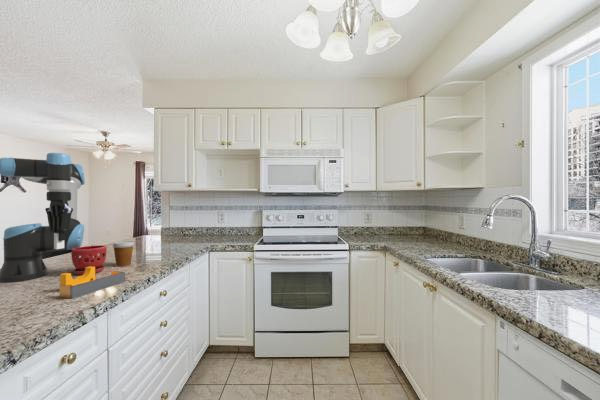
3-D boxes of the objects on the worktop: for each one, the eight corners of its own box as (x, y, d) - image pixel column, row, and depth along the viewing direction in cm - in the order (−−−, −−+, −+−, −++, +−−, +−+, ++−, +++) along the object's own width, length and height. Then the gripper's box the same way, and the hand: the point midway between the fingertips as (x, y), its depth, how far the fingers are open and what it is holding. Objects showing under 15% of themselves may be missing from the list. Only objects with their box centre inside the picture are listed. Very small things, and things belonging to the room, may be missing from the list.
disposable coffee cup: (107, 267, 138) (107, 243, 137) (123, 262, 147) (123, 240, 147) (124, 267, 136) (124, 244, 136) (138, 263, 145) (138, 241, 145)
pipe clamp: (86, 281, 114) (86, 266, 114) (95, 282, 114) (95, 266, 113) (56, 291, 102) (56, 274, 102) (65, 291, 102) (65, 274, 102)
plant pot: (113, 269, 133) (113, 245, 132) (85, 277, 120) (85, 250, 120) (93, 267, 136) (93, 243, 136) (64, 274, 124) (64, 248, 123)
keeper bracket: (59, 296, 96) (59, 285, 96) (113, 280, 115) (113, 270, 115) (72, 298, 94) (72, 287, 94) (125, 281, 113) (125, 272, 113)
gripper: (37, 191, 109) (37, 249, 109) (59, 190, 105) (59, 251, 105) (58, 191, 116) (58, 246, 116) (80, 191, 112) (80, 247, 113)
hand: (59, 248), depth 111 cm, fingers closed
